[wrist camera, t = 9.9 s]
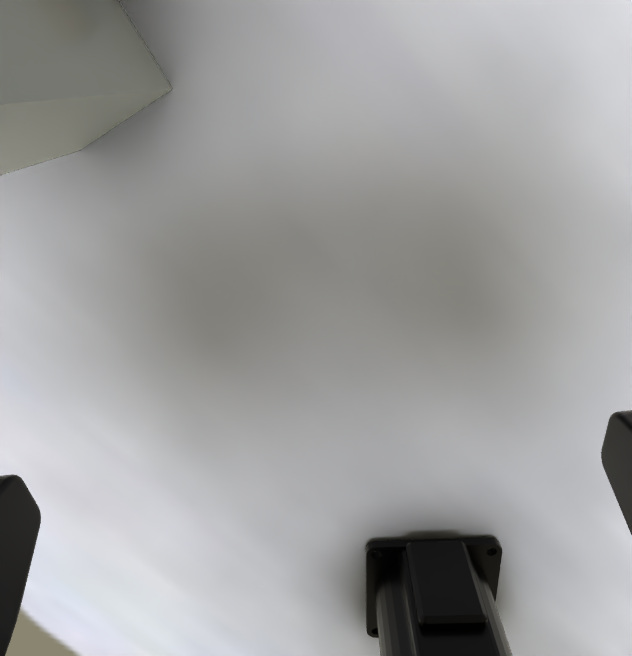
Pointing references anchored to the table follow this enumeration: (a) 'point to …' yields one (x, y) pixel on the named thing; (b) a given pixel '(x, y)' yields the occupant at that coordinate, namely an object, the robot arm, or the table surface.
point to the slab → (68, 76)
